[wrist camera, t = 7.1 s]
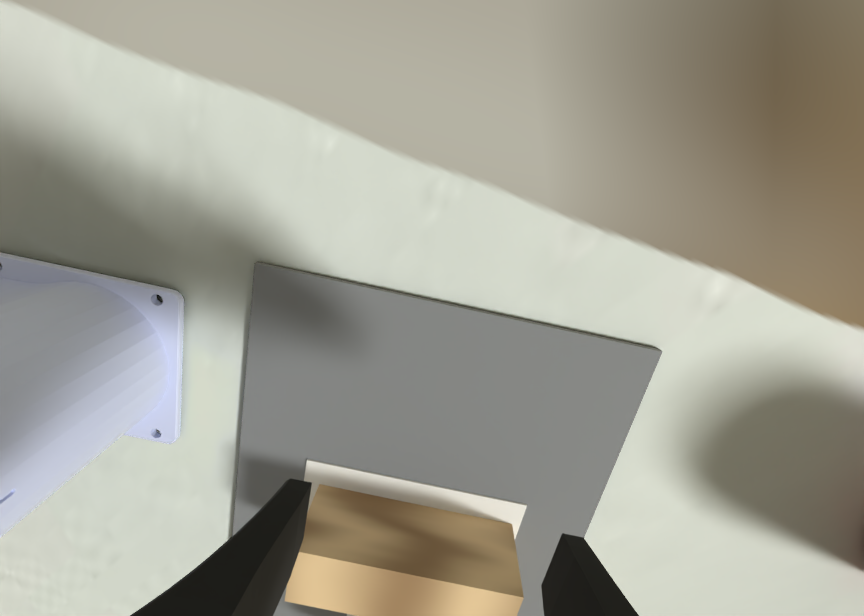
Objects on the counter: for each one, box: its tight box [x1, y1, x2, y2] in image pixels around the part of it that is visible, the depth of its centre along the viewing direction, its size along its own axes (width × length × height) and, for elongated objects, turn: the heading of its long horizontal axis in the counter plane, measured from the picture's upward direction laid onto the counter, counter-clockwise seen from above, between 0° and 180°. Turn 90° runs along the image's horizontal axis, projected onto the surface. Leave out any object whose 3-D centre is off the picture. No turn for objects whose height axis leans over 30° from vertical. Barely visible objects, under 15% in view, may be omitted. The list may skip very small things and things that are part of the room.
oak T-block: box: [285, 484, 524, 616], centre depth 22 cm, size 10×10×4 cm
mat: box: [232, 262, 662, 616], centre depth 23 cm, size 18×22×1 cm
